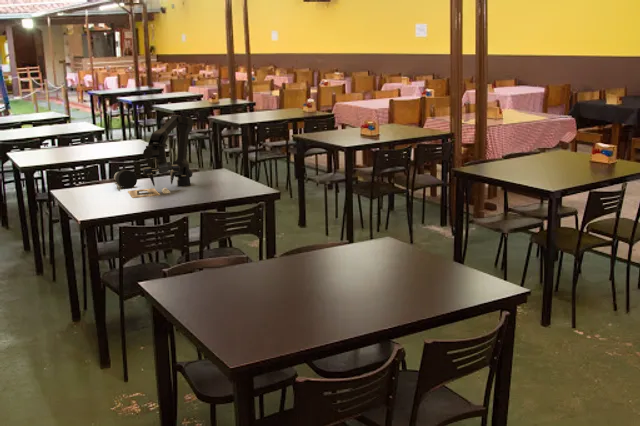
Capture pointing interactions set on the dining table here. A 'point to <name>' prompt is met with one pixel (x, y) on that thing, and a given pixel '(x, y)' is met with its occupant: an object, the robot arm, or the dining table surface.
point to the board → (137, 195)
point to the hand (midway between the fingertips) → (162, 185)
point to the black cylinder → (126, 178)
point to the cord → (165, 190)
